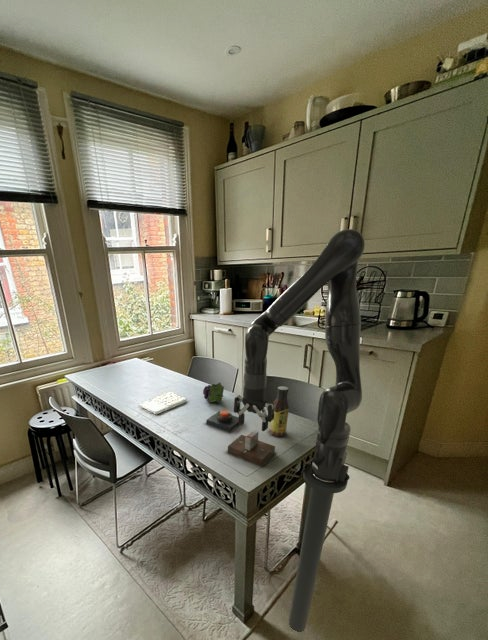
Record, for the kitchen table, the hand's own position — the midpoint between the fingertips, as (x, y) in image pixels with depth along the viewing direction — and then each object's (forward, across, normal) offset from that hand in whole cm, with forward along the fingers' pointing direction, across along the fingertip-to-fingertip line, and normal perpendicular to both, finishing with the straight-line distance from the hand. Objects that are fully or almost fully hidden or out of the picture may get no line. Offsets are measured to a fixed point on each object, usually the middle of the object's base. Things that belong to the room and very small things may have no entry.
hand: (252, 427), depth 111 cm
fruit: (+11, +37, -30) cm, 49 cm away
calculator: (+10, +55, -14) cm, 58 cm away
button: (+7, +20, -14) cm, 26 cm away
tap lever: (+8, 0, -1) cm, 8 cm away
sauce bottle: (+12, -2, -20) cm, 23 cm away
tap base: (+11, 0, -1) cm, 11 cm away
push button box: (+11, +20, -14) cm, 27 cm away
